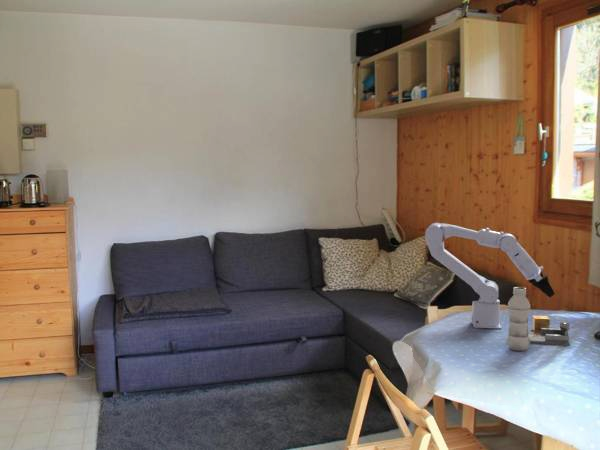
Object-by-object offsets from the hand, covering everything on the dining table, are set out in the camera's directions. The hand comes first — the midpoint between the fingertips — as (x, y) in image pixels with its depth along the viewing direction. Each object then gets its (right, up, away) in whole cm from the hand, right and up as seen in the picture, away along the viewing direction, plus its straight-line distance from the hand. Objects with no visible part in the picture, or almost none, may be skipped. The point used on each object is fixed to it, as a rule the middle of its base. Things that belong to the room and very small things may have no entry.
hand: (549, 293), depth 197 cm
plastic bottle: (-18, -16, -17) cm, 29 cm away
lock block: (-3, -13, +1) cm, 14 cm away
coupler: (-4, -14, -8) cm, 17 cm away
